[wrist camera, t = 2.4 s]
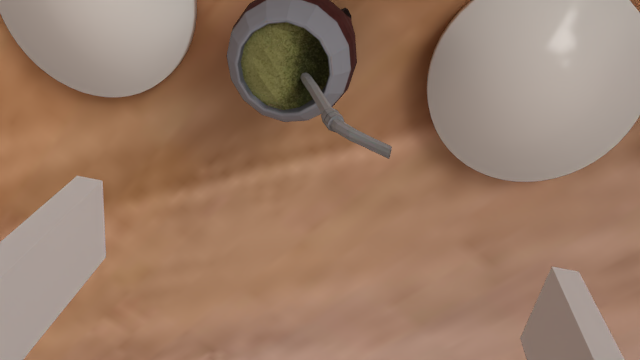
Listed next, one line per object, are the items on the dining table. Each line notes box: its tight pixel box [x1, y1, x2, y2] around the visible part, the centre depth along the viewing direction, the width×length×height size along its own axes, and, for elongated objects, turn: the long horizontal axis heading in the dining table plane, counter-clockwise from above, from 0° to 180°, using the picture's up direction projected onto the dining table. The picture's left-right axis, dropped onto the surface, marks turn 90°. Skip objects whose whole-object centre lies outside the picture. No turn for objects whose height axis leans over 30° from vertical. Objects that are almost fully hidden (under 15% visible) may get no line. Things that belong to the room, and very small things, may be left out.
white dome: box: [427, 0, 640, 182], centre depth 33 cm, size 13×13×2 cm
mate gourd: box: [227, 0, 392, 159], centre depth 28 cm, size 8×8×15 cm
